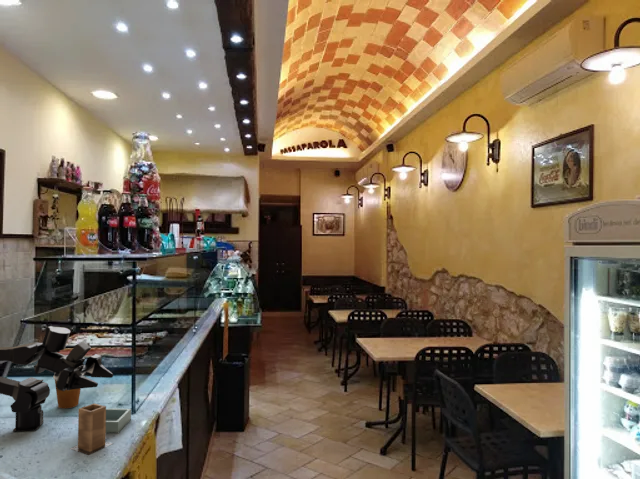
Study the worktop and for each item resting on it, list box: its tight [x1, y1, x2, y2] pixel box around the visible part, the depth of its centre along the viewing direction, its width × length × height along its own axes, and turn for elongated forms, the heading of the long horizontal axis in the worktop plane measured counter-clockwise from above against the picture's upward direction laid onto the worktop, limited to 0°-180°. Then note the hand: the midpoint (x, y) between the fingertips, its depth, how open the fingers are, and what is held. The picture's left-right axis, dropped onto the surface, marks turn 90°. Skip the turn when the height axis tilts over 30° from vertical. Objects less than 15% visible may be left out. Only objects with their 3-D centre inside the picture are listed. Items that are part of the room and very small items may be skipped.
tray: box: [106, 408, 132, 434], centre depth 146 cm, size 11×11×4 cm
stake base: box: [69, 440, 114, 456], centre depth 132 cm, size 8×8×5 cm
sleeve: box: [77, 402, 107, 452], centre depth 132 cm, size 5×5×11 cm
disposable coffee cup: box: [52, 374, 85, 410], centre depth 164 cm, size 10×10×12 cm
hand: (105, 380), depth 143 cm, fingers open, 9 cm apart
